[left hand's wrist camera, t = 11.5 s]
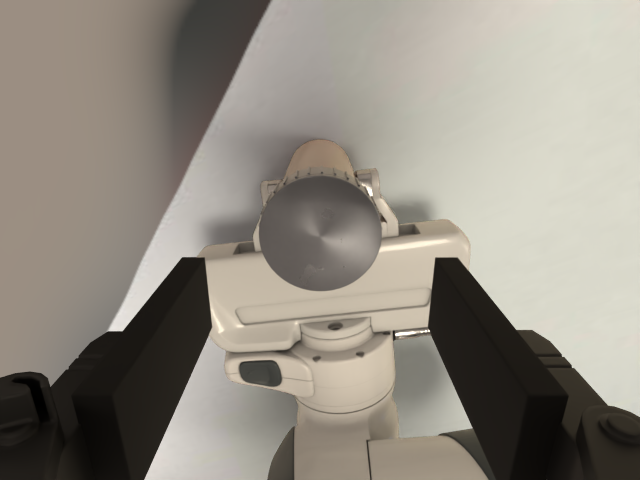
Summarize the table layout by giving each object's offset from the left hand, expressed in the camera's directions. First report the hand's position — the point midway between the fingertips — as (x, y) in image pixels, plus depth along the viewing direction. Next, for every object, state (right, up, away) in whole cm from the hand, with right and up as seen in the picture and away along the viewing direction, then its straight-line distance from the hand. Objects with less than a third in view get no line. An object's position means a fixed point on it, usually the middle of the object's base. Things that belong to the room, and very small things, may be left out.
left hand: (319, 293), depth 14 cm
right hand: (0, +6, +14) cm, 16 cm away
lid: (0, +2, +6) cm, 6 cm away
